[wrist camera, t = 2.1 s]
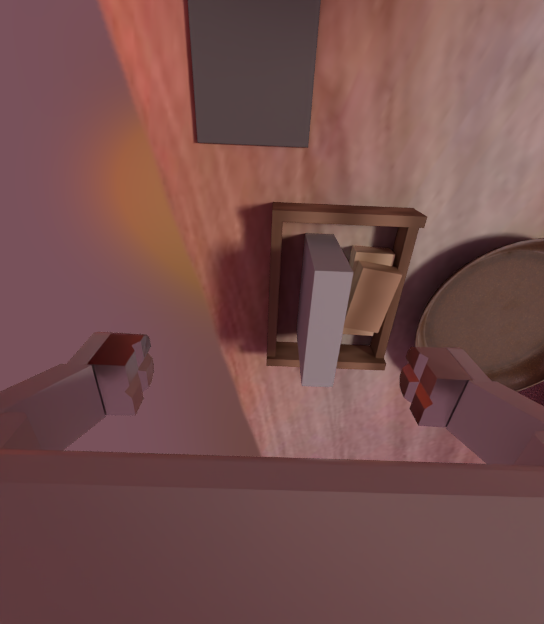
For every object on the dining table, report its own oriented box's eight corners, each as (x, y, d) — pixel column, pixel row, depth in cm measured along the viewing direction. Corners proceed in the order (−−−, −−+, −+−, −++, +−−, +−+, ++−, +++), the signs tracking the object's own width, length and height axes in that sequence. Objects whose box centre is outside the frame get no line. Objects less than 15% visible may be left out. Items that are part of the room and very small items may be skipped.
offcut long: (388, 246, 35) (395, 254, 32) (367, 324, 40) (372, 336, 37) (351, 243, 34) (356, 251, 32) (335, 322, 40) (338, 333, 37)
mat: (326, -79, 22) (327, -82, 22) (307, 147, 29) (308, 147, 29) (182, -86, 22) (181, -90, 22) (198, 142, 29) (197, 142, 29)
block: (333, 234, 33) (353, 272, 25) (320, 329, 40) (332, 387, 31) (305, 233, 33) (314, 270, 25) (296, 329, 40) (301, 386, 31)
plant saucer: (605, 201, 32) (638, 208, 29) (579, 358, 41) (601, 375, 39) (394, 264, 35) (404, 276, 32) (415, 394, 45) (425, 413, 42)
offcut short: (396, 266, 33) (402, 274, 31) (373, 323, 37) (377, 333, 35) (358, 260, 33) (363, 267, 31) (339, 317, 36) (342, 327, 35)
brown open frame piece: (413, 208, 32) (427, 216, 29) (376, 352, 41) (384, 370, 38) (272, 202, 32) (272, 210, 29) (267, 347, 41) (266, 365, 38)
